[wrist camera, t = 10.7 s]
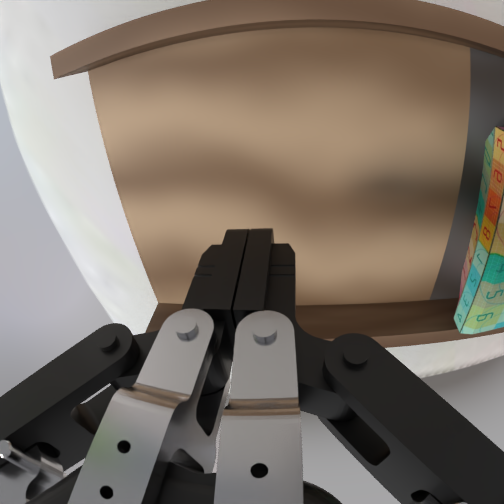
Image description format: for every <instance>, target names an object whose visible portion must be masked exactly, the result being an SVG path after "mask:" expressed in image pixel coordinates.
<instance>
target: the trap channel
mask: <svg viewBox="0 0 504 504" xmlns="http://www.w3.org/2000/svg"><path fill="white" fill-rule="evenodd" d="M50 58H51V64H52V70H53V76H54V79H57V78H61V77H65V76H69V75H73V74H78V73H82V72H87V71H88V74H89V79H90V85H91V90H92V94H93V99H94V104H95V108H96V113H97V117H98V121H99V125H100V130H101V134H102V138H103V141H104V145H105V149H106V153H107V156H108V160H109V164H110V167H111V171H112V174H113V177H114V181H115V184H116V187H117V191H118V194H119V197H120V200H121V203H122V206H123V209H124V213H125V216H126V218H127V221H128V224H129V227H130V230H131V233H132V236H133V239H134V241H135V244H136V247H137V250H138V252H139V255H140V258H141V260H142V263H143V266H144V268H145V271H146V273H147V276H148V278H149V281H150V283H151V286H152V288H153V291H154V293H155V296H156V298H157V300H158V305H157V307H156V309H155V312H154V314H153V316H152V318H151V321H150V323H149V325H148V327H147V330H146V332H145V333H148V332H153V331H157V330H160V329H161V327H162V325H163V323H164V322H165V320H166V319H167V318H168V317H169V316H171V315H172V314H174V313H176V312H178V311H180V310H181V309H182V306H183V304H184V301H185V298H186V296H187V293H188V290H189V287H190V285H191V282H192V279H193V277H194V274H195V271H196V269H197V268H198V263H199V261H200V258H201V256H202V254H203V253H204V252H205V251H206V250H207V249H208V248H209V247H210V246H211V245H217V244H222V242H223V239H224V236H225V233H226V230H227V229H256V228H273V233H274V243H289V244H290V246H291V247H292V249H293V250H294V252H295V260H296V312H295V318H296V321H297V323H298V324H299V326H300V327H301V328H302V329H303V330H304V331H305V332H307V333H308V334H310V335H312V336H314V337H317V338H321V339H325V340H328V341H333V340H334V339H335V338H337V337H339V336H341V335H344V334H348V333H359V334H364V335H367V336H369V337H371V338H373V339H374V340H375V341H377V342H378V343H379V344H380V345H381V346H383V347H384V348H387V347H400V346H411V345H420V344H429V343H438V342H446V341H453V340H460V339H467V338H474V337H480V336H486V335H492V334H497V333H502V332H504V327H501V328H497V329H493V330H489V331H485V332H481V333H476V334H463V333H459V331H458V328H457V326H456V323H455V321H454V315H455V312H456V308H457V305H458V301H459V294H460V285H461V276H462V270H463V266H464V263H465V259H466V255H467V251H468V247H469V243H470V239H471V235H472V230H473V226H474V221H475V216H476V210H477V205H478V199H479V193H480V186H481V179H482V171H483V163H484V152H485V141H486V140H487V138H488V137H489V135H490V134H491V132H492V131H493V129H494V128H495V126H499V127H504V26H501V25H499V24H496V23H494V22H491V21H488V20H486V19H483V18H480V17H477V16H474V15H471V14H468V13H465V12H461V11H458V10H455V9H451V8H447V7H444V6H440V5H436V4H431V3H427V2H422V1H418V0H207V1H202V2H197V3H192V4H188V5H184V6H180V7H176V8H172V9H168V10H164V11H161V12H157V13H154V14H151V15H147V16H144V17H141V18H138V19H135V20H132V21H129V22H126V23H124V24H121V25H118V26H116V27H113V28H110V29H108V30H105V31H103V32H100V33H98V34H96V35H93V36H91V37H89V38H86V39H84V40H82V41H80V42H78V43H76V44H73V45H71V46H69V47H67V48H65V49H63V50H61V51H59V52H57V53H56V54H54V55H52V56H50Z"/></svg>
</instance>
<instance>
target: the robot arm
mask: <svg viewBox="0 0 504 504" xmlns="http://www.w3.org/2000/svg"><path fill="white" fill-rule="evenodd" d="M295 312H296V260H295V252H294V250H293V249H292V247H291V246H290V244H289V243H274V233H273V228H256V229H227V230H226V233H225V236H224V239H223V242H222V244H217V245H211V246H210V247H209V248H208V249H207V250H206V251H205V252H204V253H203V254H202V256H201V258H200V261H199V263H198V268H197V269H196V271H195V274H194V277H193V279H192V282H191V285H190V287H189V290H188V293H187V296H186V298H185V301H184V304H183V306H182V309H181V310H180V311H178V312H176V313H174V314H172V315H171V316H169V317H168V318H167V319H166V320H165V322H164V323H163V325H162V327H161V329H160V330H157V331H153V332H148V333H143V334H138V335H132V333H131V331H130V330H129V328H128V327H126V326H125V325H122V324H118V323H113V324H108V325H105V326H103V327H101V328H99V329H98V330H96V331H95V332H93V333H92V334H90V335H89V336H88V337H86V338H84V339H83V340H81V341H80V342H79V343H77V344H76V345H74V346H73V347H71V348H70V349H68V350H67V351H65V352H64V353H63V354H61V355H60V356H58V357H57V358H55V359H54V360H52V361H51V362H49V363H48V364H47V365H45V366H44V367H42V368H41V369H39V370H38V371H36V372H35V373H34V374H33V375H31V376H29V377H28V378H27V379H25V380H24V381H22V382H21V383H19V384H18V385H17V386H15V387H14V388H12V389H11V390H10V391H8V392H7V393H5V394H4V395H3V396H1V397H0V504H342V503H341V502H340V501H339V500H338V499H336V498H335V497H334V496H333V495H332V494H330V493H329V492H327V491H325V490H324V489H322V488H320V487H318V486H316V485H314V484H311V483H308V482H306V481H303V464H302V437H301V415H300V410H301V411H304V412H307V413H311V414H314V415H317V416H318V418H319V419H320V421H321V422H322V423H323V424H324V425H325V426H326V427H327V428H328V429H329V430H330V432H331V433H332V434H333V435H334V436H335V437H336V438H337V439H338V440H339V441H340V442H341V443H342V444H343V445H344V446H345V448H346V449H347V450H348V451H349V452H350V453H351V454H352V455H353V456H354V457H355V458H356V459H357V460H358V461H359V462H360V463H361V464H362V465H363V466H364V467H365V468H366V469H367V470H368V471H369V472H370V473H371V474H372V475H373V476H374V477H375V478H376V479H377V480H378V481H379V482H380V483H381V484H382V485H383V486H384V487H385V488H386V489H387V490H388V491H389V492H390V493H391V494H392V495H393V496H394V497H395V498H396V499H397V500H398V501H399V502H400V503H401V504H504V452H503V451H502V450H501V449H500V448H499V447H498V446H496V445H495V444H494V443H493V442H492V441H491V440H490V439H488V438H487V437H486V436H485V435H484V434H483V433H482V432H481V431H479V430H478V429H477V428H476V427H475V426H474V425H473V424H472V423H470V422H469V421H468V420H467V419H466V418H465V417H464V416H462V415H461V414H460V413H459V412H458V411H457V410H456V409H454V408H453V407H452V406H451V405H450V404H449V403H448V402H446V401H445V400H444V399H443V398H442V397H441V396H439V395H438V394H437V393H436V392H435V391H434V390H432V389H431V388H430V387H429V386H428V385H427V384H426V383H424V382H423V381H422V380H421V379H420V378H419V377H418V376H416V375H415V374H414V373H413V372H412V371H411V370H409V369H408V368H407V367H406V366H405V365H404V364H402V363H401V362H400V361H399V360H398V359H397V358H395V357H394V356H393V355H392V354H391V353H390V352H388V351H387V350H386V349H385V348H384V347H383V346H381V345H380V344H379V343H378V342H377V341H375V340H374V339H373V338H371V337H369V336H367V335H364V334H359V333H348V334H344V335H341V336H339V337H337V338H335V339H334V340H333V341H328V340H325V339H321V338H317V337H314V336H312V335H310V334H308V333H307V332H305V331H304V330H303V329H302V328H301V327H300V326H299V324H298V323H297V321H296V318H295ZM232 361H233V366H232ZM231 366H232V377H231V379H230V372H231ZM109 383H110V384H111V385H110V386H109V387H108V388H106V389H105V390H103V391H102V392H100V393H99V394H98V395H96V396H95V397H93V398H92V399H91V400H89V401H88V402H86V403H83V404H80V403H82V402H83V401H85V400H86V399H87V398H89V397H90V396H92V395H93V394H95V393H96V392H97V391H99V390H100V389H102V388H103V387H105V386H106V385H108V384H109ZM230 384H231V388H230ZM229 388H230V399H229V404H228V406H226V407H225V403H226V400H227V396H228V392H229ZM224 407H225V408H224ZM221 418H222V420H221ZM220 422H221V430H220V440H219V452H218V462H217V473H212V471H213V467H214V463H215V459H216V437H217V433H218V429H219V426H220ZM84 458H85V461H84V463H83V465H82V466H80V467H79V468H78V469H76V470H75V471H73V472H72V473H70V474H69V475H66V474H65V473H64V471H65V470H67V469H68V468H70V467H72V466H73V465H75V464H76V463H78V462H79V461H81V460H82V459H84Z"/></svg>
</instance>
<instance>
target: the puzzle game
mask: <svg viewBox="0 0 504 504" xmlns="http://www.w3.org/2000/svg"><path fill="white" fill-rule="evenodd" d="M454 321H455V323H456V326H457V328H458V331H459V333H463V334H476V333H481V332H485V331H489V330H493V329H497V328H501V327H504V127H499V126H495V128H494V129H493V131H492V132H491V134H490V135H489V137H488V138H487V140H486V141H485V152H484V163H483V171H482V179H481V186H480V193H479V199H478V205H477V210H476V216H475V221H474V226H473V230H472V235H471V239H470V243H469V247H468V251H467V255H466V259H465V263H464V266H463V270H462V276H461V285H460V294H459V301H458V305H457V308H456V312H455V315H454Z"/></svg>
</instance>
